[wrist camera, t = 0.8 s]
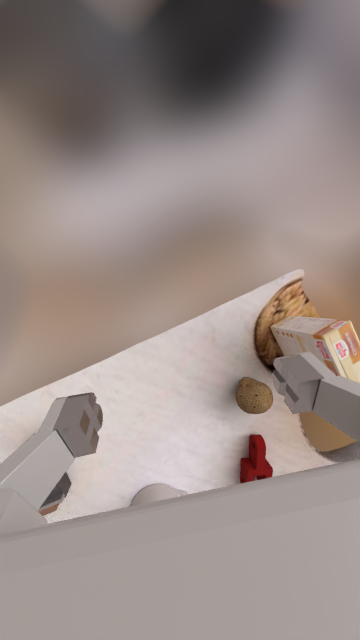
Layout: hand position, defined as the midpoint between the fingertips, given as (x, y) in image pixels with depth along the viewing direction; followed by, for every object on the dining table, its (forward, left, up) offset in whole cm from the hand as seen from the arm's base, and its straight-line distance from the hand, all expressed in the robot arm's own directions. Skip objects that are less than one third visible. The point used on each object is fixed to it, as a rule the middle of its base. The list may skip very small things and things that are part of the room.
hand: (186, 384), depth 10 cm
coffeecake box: (-20, -34, -48) cm, 62 cm away
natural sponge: (-28, -17, -48) cm, 58 cm away
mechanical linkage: (-49, -12, -48) cm, 70 cm away
